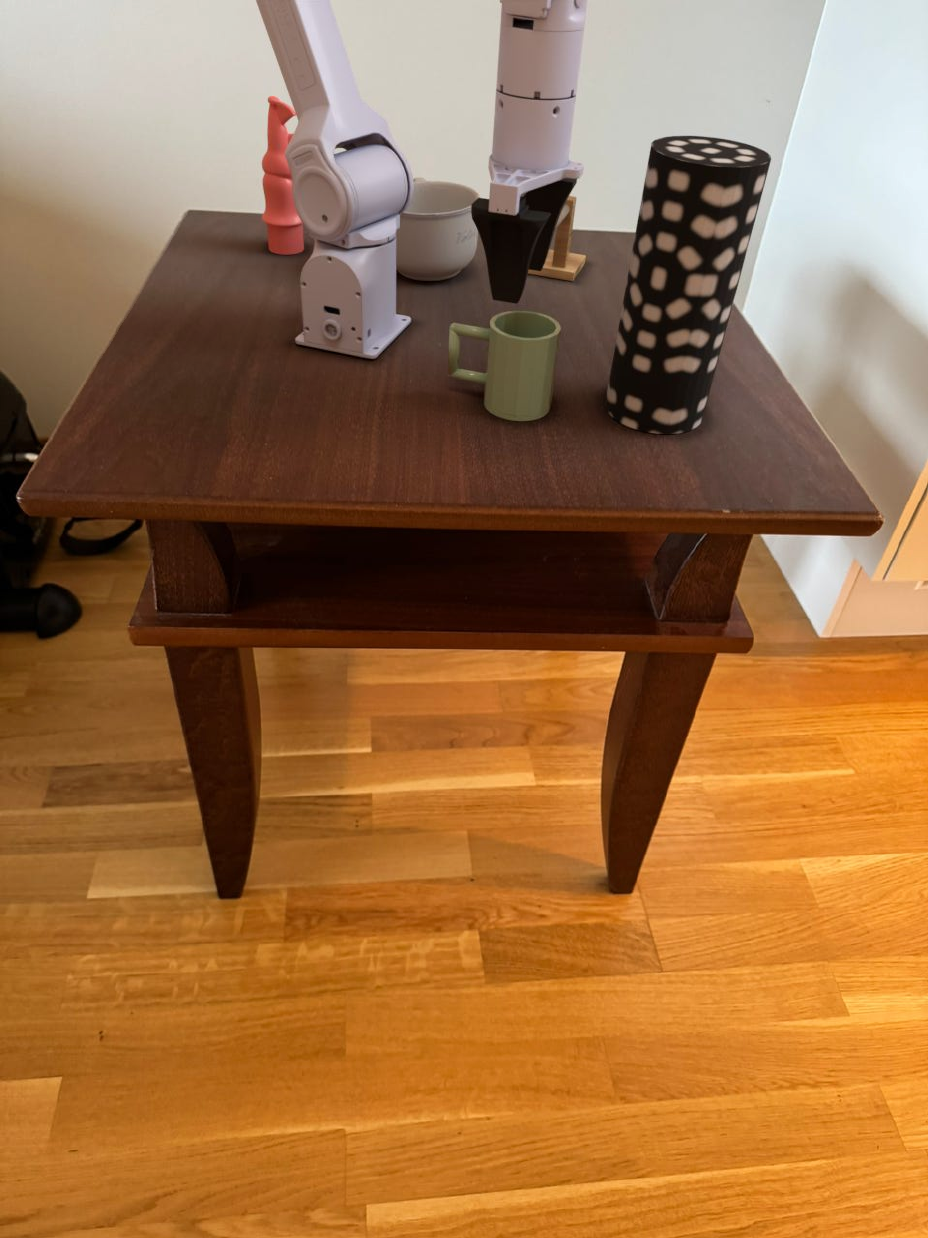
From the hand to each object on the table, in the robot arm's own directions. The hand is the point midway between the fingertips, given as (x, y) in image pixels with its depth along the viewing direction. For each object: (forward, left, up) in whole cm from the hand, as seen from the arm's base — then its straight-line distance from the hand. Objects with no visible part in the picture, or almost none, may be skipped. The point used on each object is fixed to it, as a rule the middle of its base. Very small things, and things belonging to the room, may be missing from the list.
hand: (518, 283), depth 71 cm
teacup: (+23, +16, -9) cm, 30 cm away
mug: (-4, 0, -9) cm, 9 cm away
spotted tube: (0, -13, -9) cm, 16 cm away
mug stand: (+26, +3, -9) cm, 28 cm away
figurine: (+21, +32, -9) cm, 40 cm away
